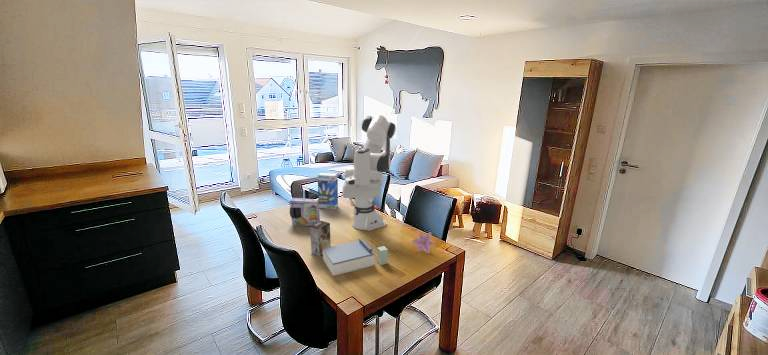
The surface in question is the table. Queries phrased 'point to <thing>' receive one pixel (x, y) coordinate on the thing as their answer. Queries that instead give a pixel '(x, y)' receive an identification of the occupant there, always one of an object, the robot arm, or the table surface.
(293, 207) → the cake pan box
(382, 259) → the parcel block
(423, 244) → the lily
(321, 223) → the coffee box
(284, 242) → the table surface
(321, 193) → the string lights box
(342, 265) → the mailer box
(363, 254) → the lid
